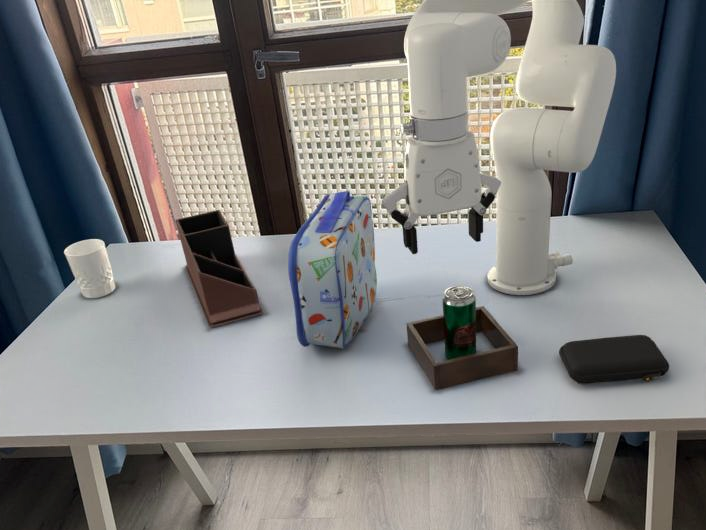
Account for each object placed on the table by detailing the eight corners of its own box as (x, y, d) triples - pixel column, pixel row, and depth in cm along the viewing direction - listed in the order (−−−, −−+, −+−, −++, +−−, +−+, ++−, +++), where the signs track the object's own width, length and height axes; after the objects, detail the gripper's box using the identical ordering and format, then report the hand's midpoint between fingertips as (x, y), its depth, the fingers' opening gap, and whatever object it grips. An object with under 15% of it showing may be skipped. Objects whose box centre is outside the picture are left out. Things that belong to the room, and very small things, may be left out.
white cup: (72, 298, 145) (55, 254, 140) (97, 280, 151) (82, 237, 146) (101, 301, 143) (86, 257, 137) (126, 283, 149) (112, 240, 143)
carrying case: (573, 394, 103) (675, 385, 102) (575, 377, 101) (678, 368, 100) (555, 354, 112) (649, 345, 111) (556, 338, 110) (651, 329, 109)
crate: (483, 328, 120) (483, 305, 118) (517, 370, 109) (518, 346, 106) (408, 345, 118) (406, 323, 115) (435, 390, 107) (433, 366, 104)
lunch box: (333, 283, 139) (318, 175, 127) (384, 283, 137) (374, 174, 125) (294, 361, 117) (271, 239, 105) (354, 363, 115) (338, 239, 103)
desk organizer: (232, 256, 155) (221, 207, 149) (264, 314, 132) (253, 259, 125) (185, 267, 152) (171, 219, 146) (209, 329, 129) (195, 274, 123)
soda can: (456, 370, 111) (454, 304, 104) (439, 355, 114) (435, 291, 108) (482, 359, 112) (482, 293, 106) (464, 345, 116) (463, 281, 110)
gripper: (384, 144, 89) (394, 266, 99) (511, 122, 92) (509, 243, 101) (370, 129, 95) (380, 245, 105) (489, 110, 98) (489, 224, 107)
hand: (443, 244), depth 103 cm, fingers open, 9 cm apart
